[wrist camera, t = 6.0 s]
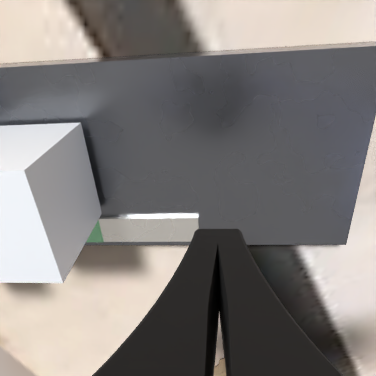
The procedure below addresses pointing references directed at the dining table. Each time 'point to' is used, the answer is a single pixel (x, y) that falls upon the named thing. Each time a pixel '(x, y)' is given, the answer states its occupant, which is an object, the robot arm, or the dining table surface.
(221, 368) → the handle
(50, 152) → the white rectangular block
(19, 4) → the dining table surface
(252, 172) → the gauge base
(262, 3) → the dining table surface
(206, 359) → the robot arm
